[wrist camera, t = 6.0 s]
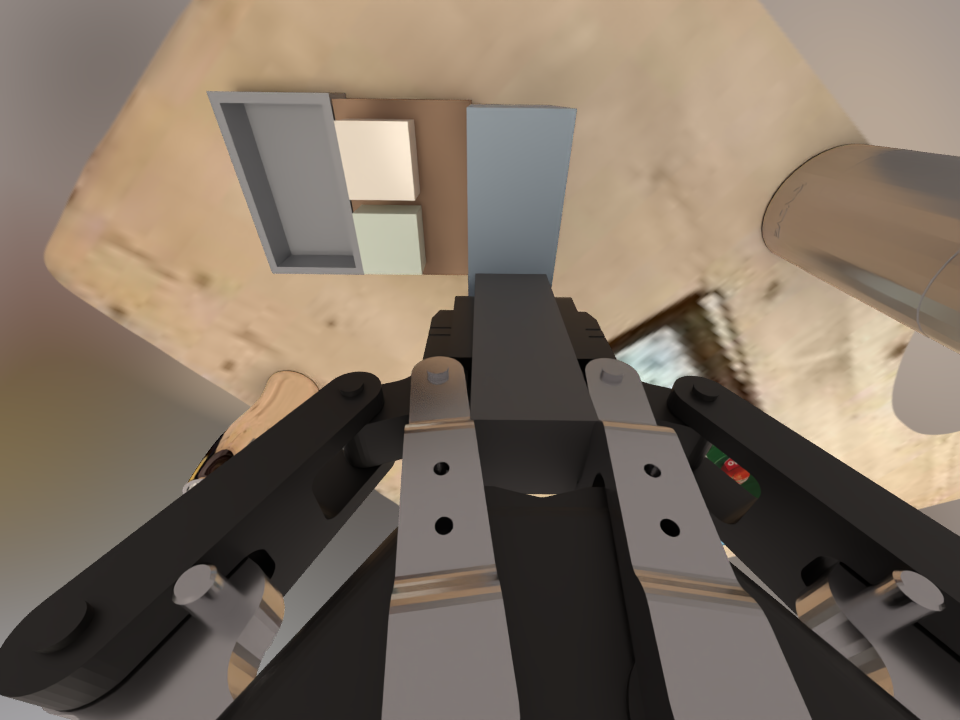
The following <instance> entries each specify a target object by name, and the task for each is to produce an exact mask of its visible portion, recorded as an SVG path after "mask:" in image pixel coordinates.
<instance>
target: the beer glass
mask: <svg viewBox="0 0 960 720" xmlns="http://www.w3.org/2000/svg"><path fill="white" fill-rule="evenodd" d="M318 391H319V390H318V388H317V386H316V385H315V384H314V382H313V381H312V380H310V379H309V378H308V377H306V376H304V375H302V374H300V373H297V372H292V371H280V372H277V373H275V374H273V375H272V376H271V377H270V378H269V380H268V382H267V384H266V386H265V389H264V391H263V393H262V395H261V396H260V398H259V399H258V400H257V401H256V403H255V404H254V405H252V406H251V407H250V408H249V409H248V410H247V411H246V412H245V413H244V414H243V415H241V416H240V417H239V418H238V419H237V420H236V421H235V422H234V423H232V424H231V425H230V426H229V427H228V428H227V429H226V431H224V432H223V433H222V434H221V435H220V436H219V438H218V439H217V440H216V441H215V443H214V444H213V445H212V446H211V447H210V449H209V450H208V452H207V453H206V454H205V456H204V457H203V458H202V460H201V461H200V463H199V464H198V466H197V468H196V469H195V471H194V472H193V474H192V475H191V477H190V479H189V480H188V482H187V483H186V484H185V485H184V487H183V490H182V493H183V494H184V493H186V492H187V491H188V490H190V489H191V488H192V487H194V486H195V485H196V484H198V483H199V482H200V481H201V480H203V479H204V478H205V477H207V476H208V475H209V474H211V473H212V472H213V471H215V470H216V469H217V468H218V467H220V466H221V465H222V464H224V463H225V462H226V461H228V460H229V459H230V458H232V457H233V456H234V455H235V454H237V453H238V452H239V451H241V450H242V449H243V448H245V447H246V446H247V445H249V444H250V443H251V442H252V441H254V440H255V439H256V438H258V437H259V436H260V435H262V434H263V433H264V432H266V431H267V430H268V429H269V428H271V427H272V426H273V425H275V424H276V423H277V422H279V421H280V420H281V419H283V418H284V417H285V416H286V415H288V414H289V413H290V412H292V411H293V410H294V409H296V408H297V407H298V406H300V405H301V404H302V403H303V402H305V401H306V400H307V399H309V398H310V397H311V396H313V395H314V394H315V393H317V392H318Z"/></svg>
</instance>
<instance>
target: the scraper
mask: <svg viewBox="0 0 960 720" xmlns="http://www.w3.org/2000/svg"><path fill="white" fill-rule="evenodd" d="M576 112H577V109H575V108H567V107H560V106H552V105H501V104H471V105H469V106H468V107H467V200H468V295H469V296H475V297H474V325H473V352H472V380H471V407H470V419H473V421H474V425H475V432H476V439H477V445H478V452H479V459H480V465H481V472H482V479H483V485H484V486H495V487H499V488H503V489H507V490H511V491H515V492H519V493H523V494H561V493H565V492H569V491H573V490H575V487H576V483H577V481H579V482H580V479H581V476H582V472H583V469H584V466H585V463H586V459H587V456H588V452H589V439H590V436H591V433H592V429H593V426H594V423H595V422H598V421H599V418H598V416H597V413H596V410H595V407H594V405H593V402H592V399H591V396H590V394H589V391H588V388H587V385H586V383H585V380H584V377H583V374H582V372H581V369H580V366H579V363H578V360H577V358H576V355H575V352H574V349H573V347H572V344H571V341H570V338H569V336H568V333H567V330H566V327H565V325H564V322H563V319H562V316H561V314H560V311H559V308H558V305H557V303H556V300H555V297H554V294H553V291H552V289H551V287H552V280H553V273H554V266H555V259H556V252H557V245H558V238H559V231H560V224H561V217H562V210H563V203H564V196H565V189H566V182H567V175H568V168H569V161H570V154H571V147H572V140H573V133H574V126H575V119H576Z"/></svg>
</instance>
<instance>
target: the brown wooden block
mask: <svg viewBox="0 0 960 720" xmlns="http://www.w3.org/2000/svg"><path fill="white" fill-rule="evenodd" d="M332 104H333V109H334V114H335V119H336V120H341V119H414V126H415V138H416V150H417V161H418V173H419V185H420V194H419V195H418V197H417V198H416V200H415V201H408V200H351V201H352V207H353V212H354V211H355V210H357V209H358V208H359V207H360V206H361V205H421V209H422V221H423V233H424V244H425V256H426V264H425V267H424V270H423V273H422V274H424V275H468V200H467V107H468V106H469V105H471V104H472V100H428V99H354V98H347V99H332Z"/></svg>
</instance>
